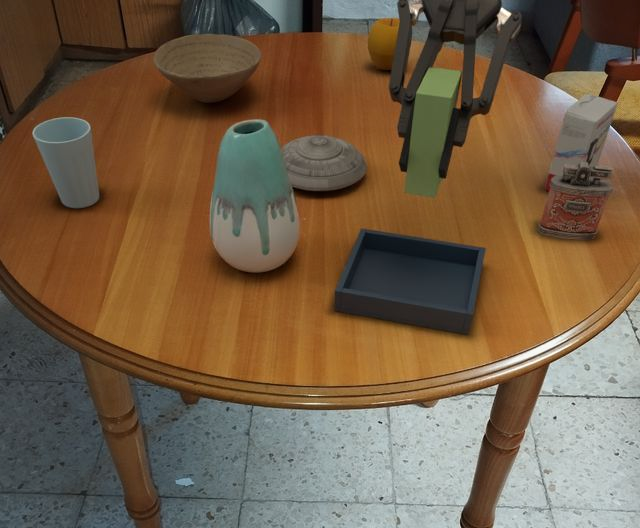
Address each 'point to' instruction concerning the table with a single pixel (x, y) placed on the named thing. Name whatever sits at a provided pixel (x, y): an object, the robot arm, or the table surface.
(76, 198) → the cup
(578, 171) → the lighter
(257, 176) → the vase
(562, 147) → the ink box
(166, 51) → the bowl
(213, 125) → the table surface
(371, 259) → the tray
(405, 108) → the robot arm
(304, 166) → the flying saucer
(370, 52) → the apple
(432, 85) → the sponge
